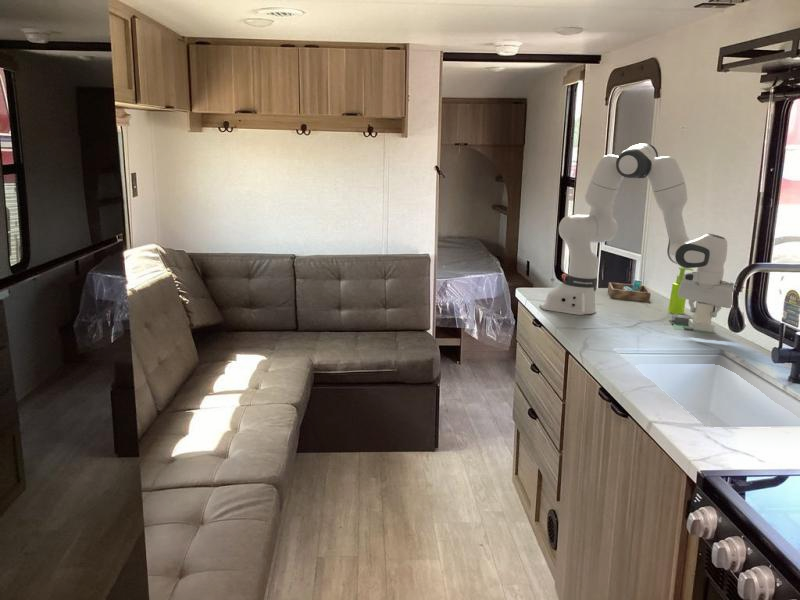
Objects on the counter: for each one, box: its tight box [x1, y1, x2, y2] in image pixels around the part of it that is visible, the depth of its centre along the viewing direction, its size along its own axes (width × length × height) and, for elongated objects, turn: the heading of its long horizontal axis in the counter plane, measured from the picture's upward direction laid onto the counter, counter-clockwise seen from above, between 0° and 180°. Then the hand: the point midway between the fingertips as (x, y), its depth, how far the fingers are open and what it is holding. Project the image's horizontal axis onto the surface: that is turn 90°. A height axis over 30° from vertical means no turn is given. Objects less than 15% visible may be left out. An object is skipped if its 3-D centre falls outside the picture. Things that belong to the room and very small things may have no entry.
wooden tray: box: [607, 282, 651, 303], centre depth 297 cm, size 17×17×4 cm
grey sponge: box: [668, 313, 691, 326], centre depth 248 cm, size 7×8×3 cm
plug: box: [692, 301, 716, 324], centre depth 240 cm, size 6×4×8 cm
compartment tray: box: [671, 318, 716, 335], centre depth 244 cm, size 14×15×4 cm
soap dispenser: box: [667, 266, 694, 315], centre depth 264 cm, size 6×7×20 cm
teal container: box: [622, 278, 643, 292], centre depth 298 cm, size 12×12×8 cm
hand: (703, 314), depth 240 cm, fingers closed on plug, 6 cm apart
